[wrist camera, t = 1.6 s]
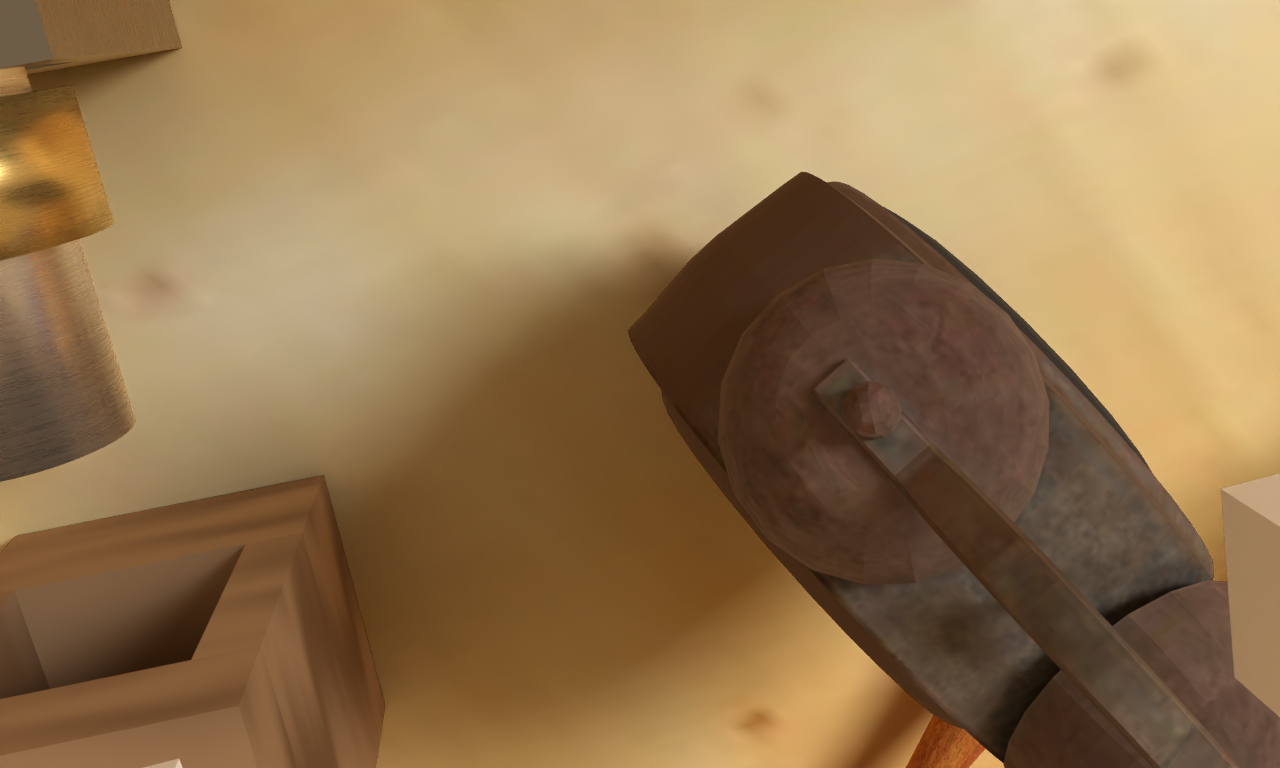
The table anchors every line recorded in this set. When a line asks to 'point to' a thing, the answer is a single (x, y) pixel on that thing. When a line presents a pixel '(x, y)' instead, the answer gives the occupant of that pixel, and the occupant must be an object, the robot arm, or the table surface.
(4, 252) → the tube
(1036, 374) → the alarm clock
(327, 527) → the socket block
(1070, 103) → the table surface
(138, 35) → the square shaft housing
